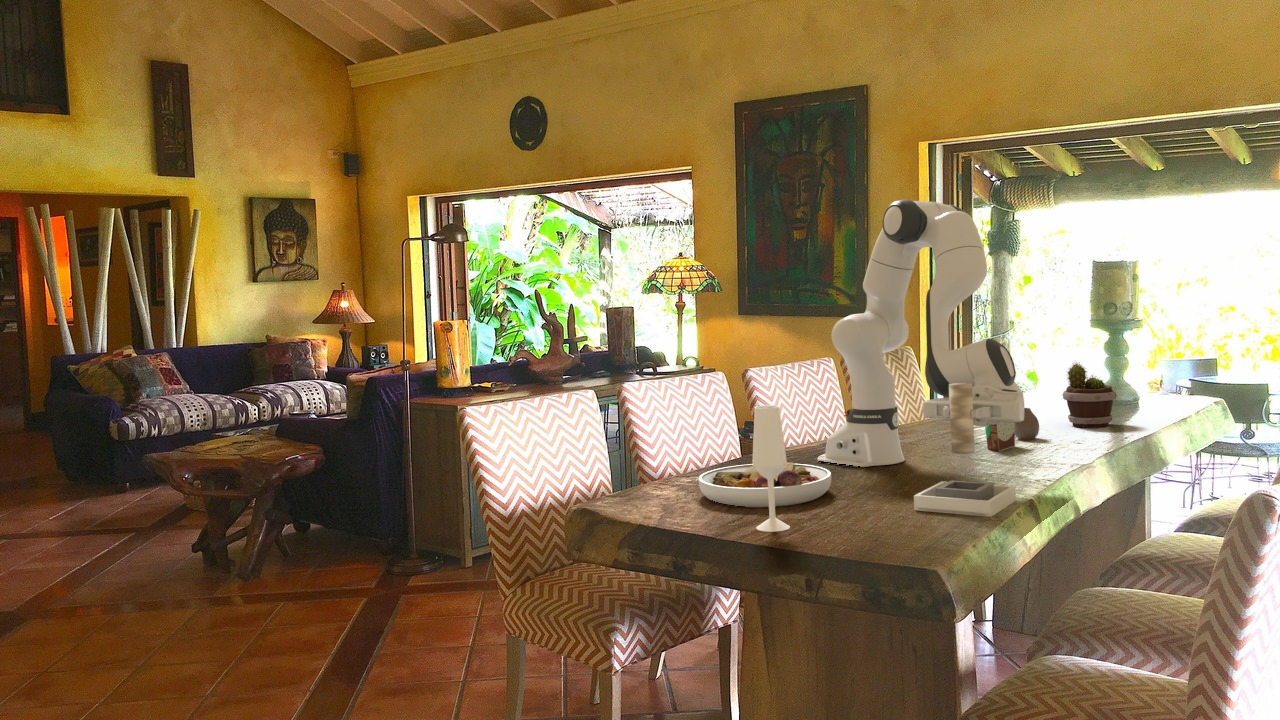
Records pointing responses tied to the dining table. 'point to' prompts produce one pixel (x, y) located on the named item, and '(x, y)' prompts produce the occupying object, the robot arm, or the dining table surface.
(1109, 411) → the flowerpot
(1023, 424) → the vase
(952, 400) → the peg
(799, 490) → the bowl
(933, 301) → the robot arm
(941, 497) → the tray
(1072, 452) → the dining table surface
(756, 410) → the champagne flute
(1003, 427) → the food container
